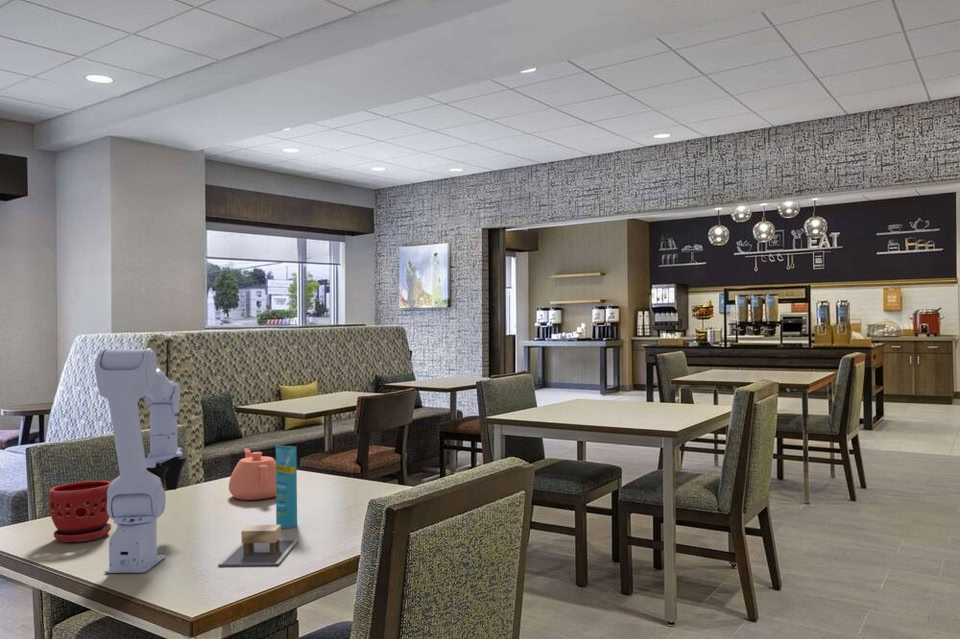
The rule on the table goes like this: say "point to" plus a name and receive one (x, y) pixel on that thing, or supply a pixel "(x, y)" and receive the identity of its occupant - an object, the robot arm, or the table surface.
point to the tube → (286, 486)
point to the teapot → (254, 477)
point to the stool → (261, 537)
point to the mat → (258, 555)
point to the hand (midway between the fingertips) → (164, 493)
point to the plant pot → (80, 510)
